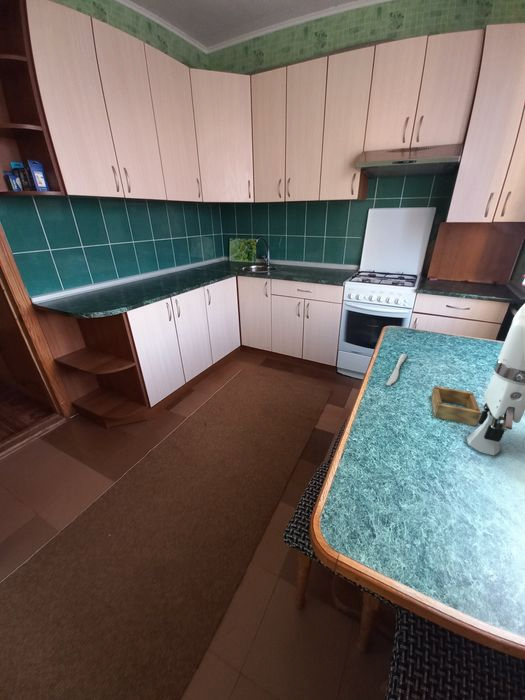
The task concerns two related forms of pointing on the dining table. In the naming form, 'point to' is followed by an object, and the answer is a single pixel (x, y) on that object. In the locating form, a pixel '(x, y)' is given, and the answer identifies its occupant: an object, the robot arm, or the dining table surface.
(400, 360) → the butter knife
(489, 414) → the flask
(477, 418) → the square wooden frame
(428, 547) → the dining table surface
